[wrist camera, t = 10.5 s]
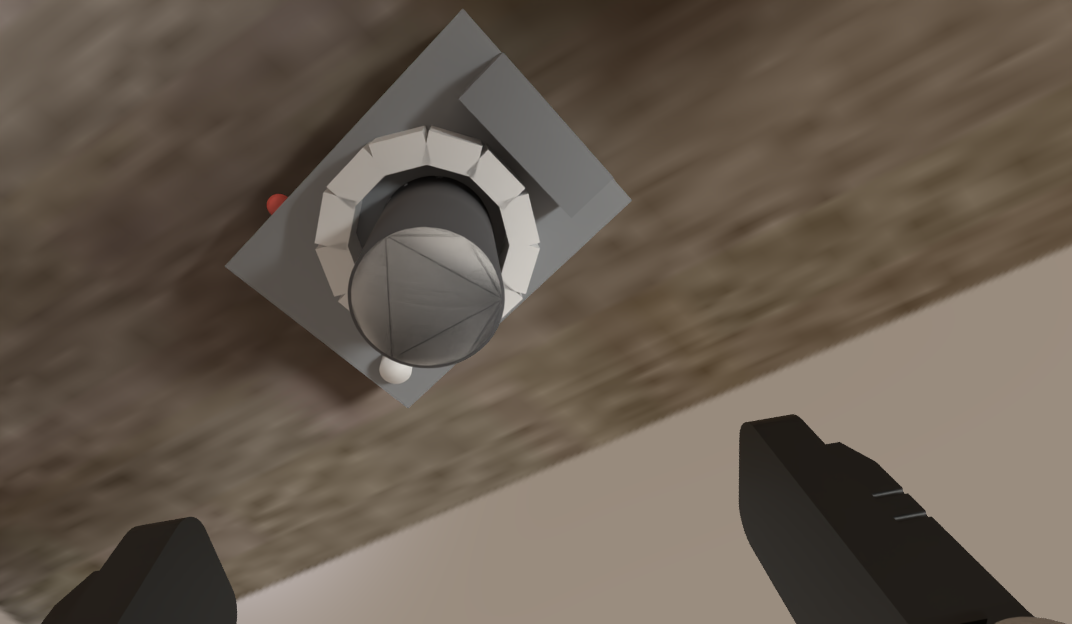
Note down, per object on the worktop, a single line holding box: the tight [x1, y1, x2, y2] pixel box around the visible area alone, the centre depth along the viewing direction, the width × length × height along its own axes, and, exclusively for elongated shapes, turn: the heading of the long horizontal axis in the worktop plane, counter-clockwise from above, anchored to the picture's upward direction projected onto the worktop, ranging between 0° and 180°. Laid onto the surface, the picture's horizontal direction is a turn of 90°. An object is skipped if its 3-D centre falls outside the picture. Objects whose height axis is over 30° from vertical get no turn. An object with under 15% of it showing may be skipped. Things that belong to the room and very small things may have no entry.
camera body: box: [225, 9, 632, 408], centre depth 26 cm, size 14×11×7 cm
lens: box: [348, 176, 505, 368], centre depth 21 cm, size 5×5×8 cm
